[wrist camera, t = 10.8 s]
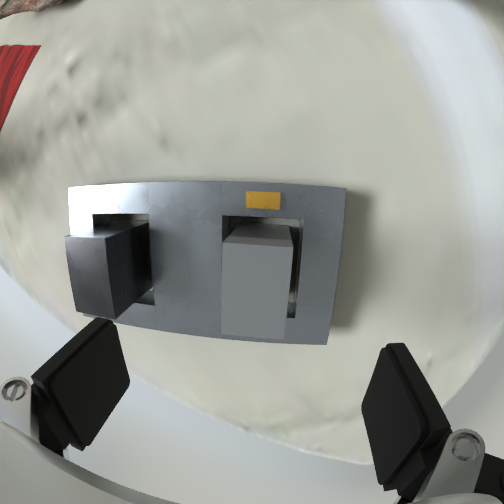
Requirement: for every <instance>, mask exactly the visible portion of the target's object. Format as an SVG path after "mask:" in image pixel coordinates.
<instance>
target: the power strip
mask: <svg viewBox="0 0 504 504" xmlns="http://www.w3.org/2000/svg"><path fill="white" fill-rule="evenodd" d="M345 198H346V188H338V187H327V186H314V185H300V184H284V183H263V182H230V181H174V182H142V183H122V184H106V185H93V186H81V187H71V188H69V214H70V229H71V235H68V236H65V245H66V254H67V262H68V269H69V275H70V281H71V287H72V292H73V297H74V302H75V307H76V311H77V312H81V313H83V315H84V316H87V317H92V318H97V317H101V318H105V319H110V320H112V322H115V323H120V324H125V325H131V326H136V327H142V328H147V329H153V330H160V331H166V332H173V333H180V334H187V335H195V336H203V337H211V338H221V339H230V340H241V341H254V342H268V343H286V344H312V345H327V340H328V335H329V329H330V324H331V318H332V312H333V305H334V299H335V292H336V285H337V278H338V270H339V262H340V254H341V245H342V235H343V224H344V212H345ZM110 214H149V220H116V221H113V222H110ZM229 216H253V217H273V218H291V219H300V233H299V247H298V260H297V272H296V284H295V294H294V303H288V307H287V316H286V324H285V333H284V340H282V339H268V338H256V337H245V336H235V335H226V334H221V295H222V243H223V241H224V240H225V239H226V238H227V237H228V236H229ZM151 287H153V290H154V291H148V290H149V289H150V288H151Z"/></svg>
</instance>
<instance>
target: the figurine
mask: <svg viewBox="0 0 504 504" xmlns="http://www.w3.org/2000/svg"><path fill="white" fill-rule="evenodd" d="M39 48H40V46H21V45H13V46H0V129H1V127H2V125H3V122H4V120H5V118H6V116H7V113H8V111H9V108H10V106H11V103H12V101H13V98H14V96H15V94H16V92H17V89H18V87H19V85H20V83H21V81H22V79H23V77H24V75H25V73H26V71H27V69H28V67H29V65H30V63H31V62H32V60H33V58H34V56H35V54H36V53H37V51H38V49H39Z"/></svg>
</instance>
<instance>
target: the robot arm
mask: <svg viewBox="0 0 504 504" xmlns="http://www.w3.org/2000/svg"><path fill="white" fill-rule="evenodd" d="M31 378H32V380H33V382H34V383H33V384H32V385H31V384H30V382H29V381H28V380H27V379H25V378H23V377H13V378H10V379H8V380H6V381H5V382H4V383H3V384H2V385H1V387H0V504H178V503H175V502H171V501H167V500H164V499H160V498H157V497H154V496H150V495H147V494H144V493H141V492H138V491H135V490H133V489H130V488H127V487H125V486H122V485H120V484H117V483H115V482H112V481H110V480H108V479H105V478H103V477H101V476H98V475H96V474H94V473H92V472H90V471H88V470H86V469H84V468H82V467H80V466H78V465H76V464H74V463H72V462H70V460H69V455H68V449H67V446H68V445H69V443H70V444H71V446H73V447H75V448H77V449H79V450H81V451H83V450H84V449H85V447H86V446H89V445H90V444H91V443H92V441H93V440H94V438H95V437H96V435H97V434H98V432H99V430H100V429H101V427H102V426H103V425H104V423H105V422H106V420H107V419H108V417H109V415H110V414H111V412H112V411H113V409H114V408H115V406H116V405H117V403H118V402H119V400H120V399H121V397H122V396H123V395H124V393H125V392H126V390H127V389H128V387H129V384H130V378H129V374H128V371H127V367H126V364H125V360H124V356H123V352H122V348H121V344H120V340H119V336H118V331H117V327H116V325H114V324H113V322H112V320H110V319H105V318H101V317H97V318H95V319H94V320H93V321H92V322H90V323H89V324H88V325H87V326H86V327H85V328H83V329H82V330H81V331H80V332H79V333H78V334H77V335H75V336H74V337H73V338H72V339H71V340H70V341H69V342H68V343H66V344H65V345H64V346H63V347H62V348H61V349H60V350H59V351H58V352H57V353H55V354H54V355H53V356H52V357H51V358H50V359H49V360H48V361H47V362H46V363H45V364H44V365H42V366H41V367H40V368H39V369H38V370H37V371H36V372H35V373H34V374H33V375H32V376H31ZM362 414H363V418H364V422H365V426H366V430H367V434H368V439H369V443H370V447H371V451H372V456H373V460H374V465H375V470H376V475H377V480H378V483H379V484H380V485H383V488H384V491H389V490H393V489H397V492H398V495H399V496H398V498H397V499H396V501H395V502H394V504H504V460H503V459H500V458H498V457H495V456H492V455H489V454H487V453H485V443H484V441H483V439H482V437H481V436H480V435H479V434H478V433H477V432H475V431H473V430H470V429H459V430H456V431H454V432H452V430H451V428H450V427H451V426H450V424H449V422H448V420H447V418H446V416H445V414H444V412H443V410H442V408H441V406H440V404H439V402H438V401H437V399H436V397H435V395H434V393H433V391H432V390H431V388H430V386H429V384H428V382H427V381H426V379H425V377H424V375H423V374H422V372H421V370H420V369H419V367H418V365H417V363H416V362H415V360H414V358H413V357H412V355H411V353H410V352H409V350H408V348H407V347H406V345H405V344H404V343H389V344H387V345H386V347H385V348H382V349H381V351H380V354H379V357H378V360H377V363H376V366H375V369H374V372H373V375H372V378H371V381H370V383H369V386H368V389H367V391H366V394H365V397H364V399H363V402H362Z"/></svg>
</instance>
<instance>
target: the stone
mask: <svg viewBox="0 0 504 504" xmlns="http://www.w3.org/2000/svg"><path fill="white" fill-rule="evenodd" d="M62 1H63V0H0V19H2V18H5V17H7V16H10V15H12V14H16V13H20V12H28V11H37V12H39V11H42V10H44V9H45V8H47V7H50V6H53V5H57V4H59V3H60V2H62Z"/></svg>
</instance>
